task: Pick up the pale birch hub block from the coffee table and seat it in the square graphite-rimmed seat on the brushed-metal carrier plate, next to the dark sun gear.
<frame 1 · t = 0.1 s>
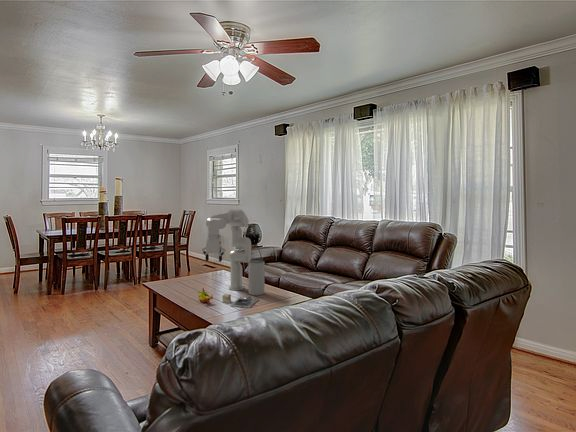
hand: (213, 261, 260), 31 cm above the table, tool pointing down, fingers open, 9 cm apart
yellow toy car: (203, 301, 270), on the table
cylinder vase: (256, 293, 292), on the table
hub block: (226, 301, 270), on the table
carrier plate: (244, 302, 267), on the table
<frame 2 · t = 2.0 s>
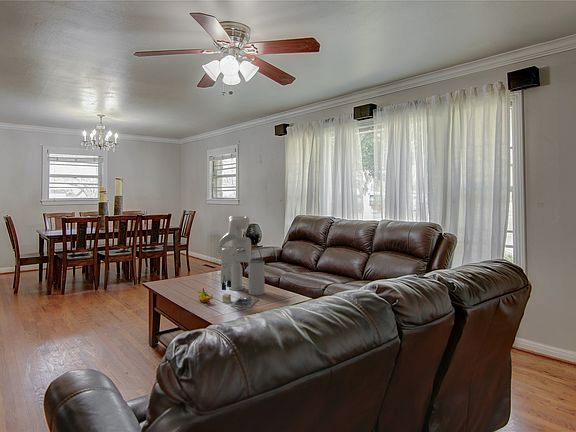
hand: (226, 288, 269), 10 cm above the table, tool pointing down, fingers open, 9 cm apart
nothing on the table moved.
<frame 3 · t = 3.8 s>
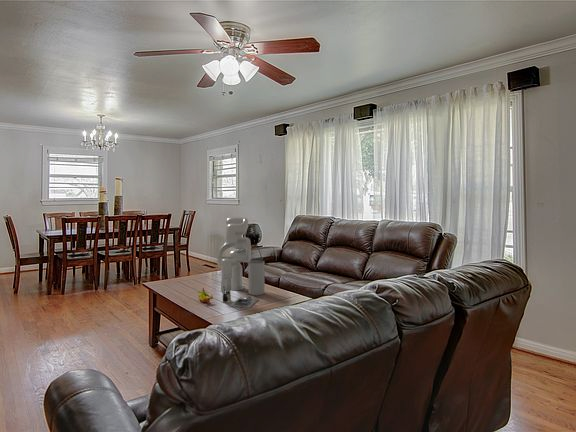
hand: (226, 300, 270), 1 cm above the table, tool pointing down, fingers closed on hub block, 4 cm apart
hub block: (226, 301, 270), on the table, touching gripper
everything else where it was.
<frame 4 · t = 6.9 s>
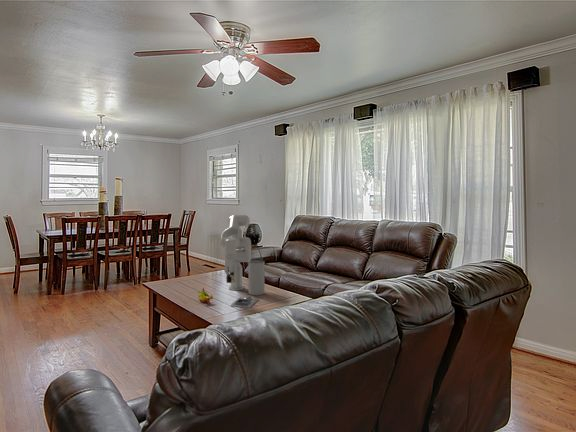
hand: (230, 281, 267), 16 cm above the table, tool pointing down, fingers closed on hub block, 4 cm apart
hub block: (230, 282, 267), point 15 cm above the table, touching gripper
everything else where it was.
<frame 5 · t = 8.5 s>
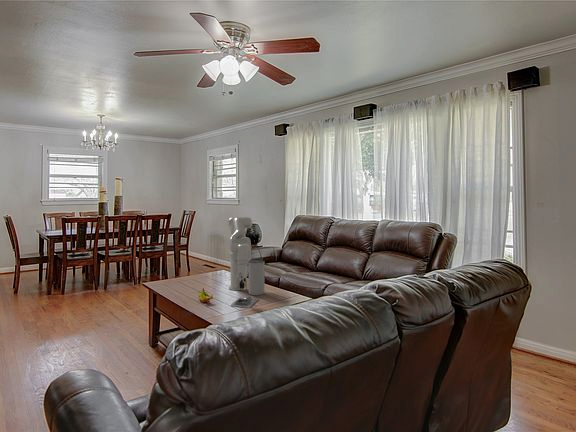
hand: (243, 287, 262), 12 cm above the table, tool pointing down, fingers closed on hub block, 4 cm apart
hub block: (243, 288, 262), point 11 cm above the table, touching gripper
everything else where it was.
when the fingers open (3 cm above the table, at t = 10.3 s): hub block drops 1 cm, resting on carrier plate.
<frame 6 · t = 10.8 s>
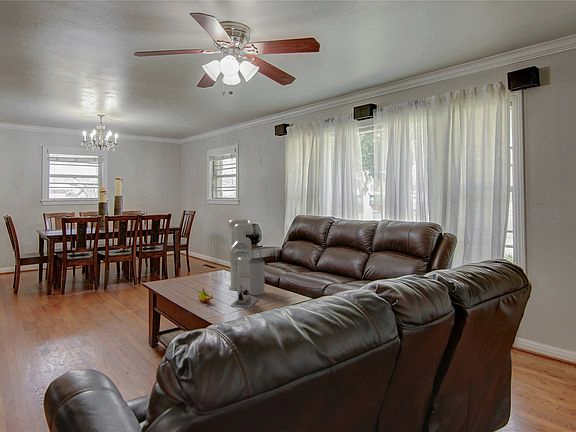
hand: (243, 298, 263), 4 cm above the table, tool pointing down, fingers open, 9 cm apart
hub block: (242, 303, 263), point 1 cm above the table, touching carrier plate
everything else where it was.
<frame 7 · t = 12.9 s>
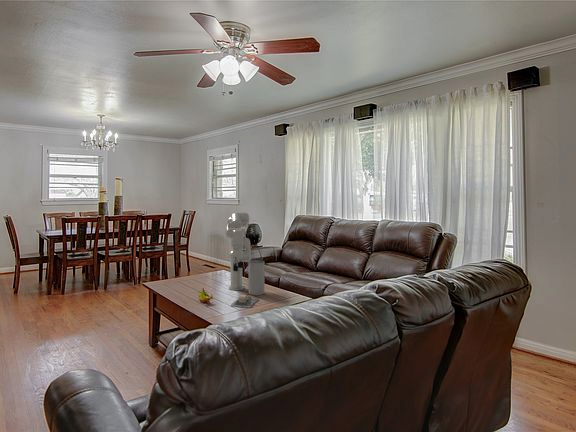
hand: (237, 269, 273), 23 cm above the table, tool pointing down, fingers open, 9 cm apart
nothing on the table moved.
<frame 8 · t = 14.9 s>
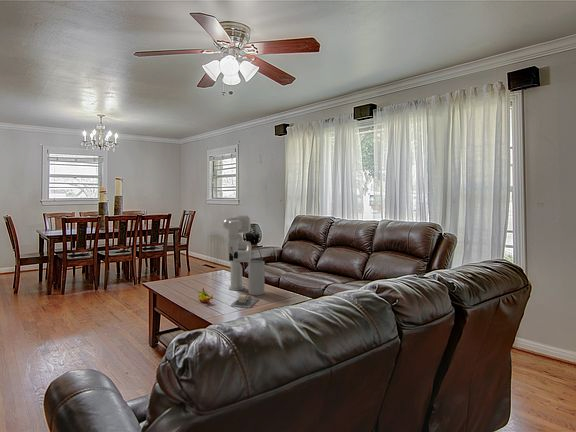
hand: (233, 259, 282), 28 cm above the table, tool pointing down, fingers open, 9 cm apart
nothing on the table moved.
at the end: hub block 0.1 cm from the target spot on the carrier plate, point 1.0 cm above the carrier plate's base; hub block tilted 0°; the gripper is holding nothing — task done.
